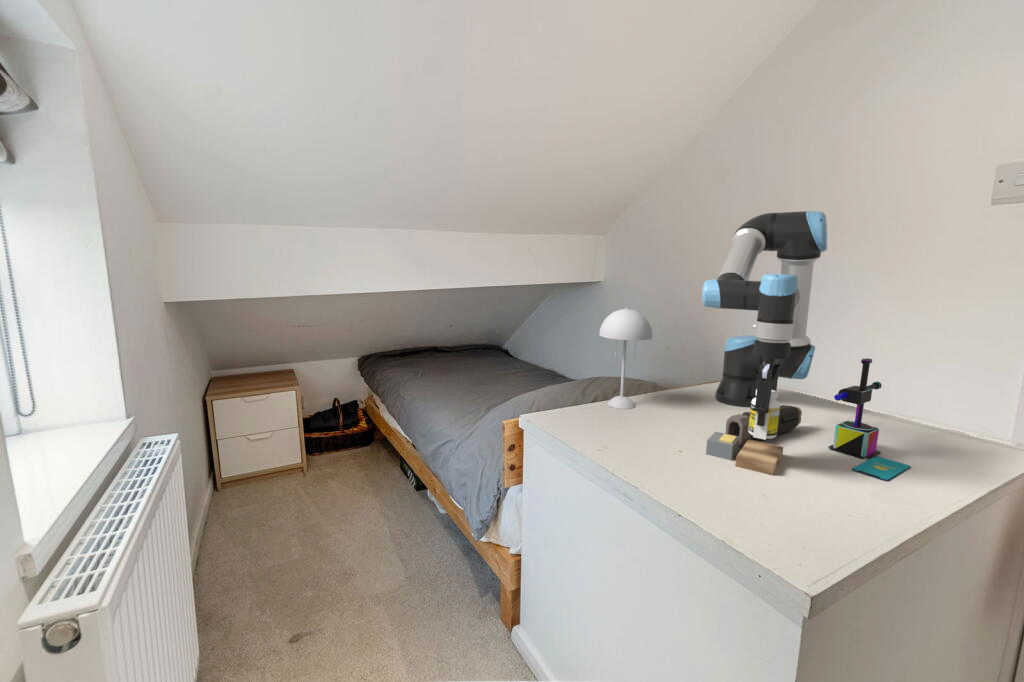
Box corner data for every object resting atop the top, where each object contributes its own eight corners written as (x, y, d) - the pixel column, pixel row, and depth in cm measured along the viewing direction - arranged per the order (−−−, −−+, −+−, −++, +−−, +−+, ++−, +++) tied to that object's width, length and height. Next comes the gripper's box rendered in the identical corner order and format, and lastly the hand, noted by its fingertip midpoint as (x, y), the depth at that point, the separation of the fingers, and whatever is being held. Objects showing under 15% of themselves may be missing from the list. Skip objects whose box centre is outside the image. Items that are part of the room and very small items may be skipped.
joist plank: (747, 448, 125) (748, 439, 124) (782, 456, 120) (783, 446, 120) (735, 465, 114) (736, 456, 113) (773, 475, 109) (774, 464, 108)
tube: (808, 443, 137) (746, 449, 122) (784, 441, 143) (722, 447, 128) (806, 405, 139) (744, 406, 123) (782, 404, 144) (720, 406, 129)
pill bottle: (742, 432, 117) (746, 388, 116) (760, 429, 120) (765, 386, 118) (763, 440, 112) (768, 395, 110) (782, 437, 114) (787, 393, 112)
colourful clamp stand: (861, 463, 117) (875, 365, 113) (821, 450, 124) (833, 359, 120) (900, 443, 130) (914, 356, 126) (862, 433, 138) (874, 350, 134)
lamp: (588, 398, 168) (593, 305, 163) (634, 397, 171) (639, 305, 166) (607, 413, 151) (612, 310, 146) (656, 411, 155) (663, 310, 149)
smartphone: (912, 465, 115) (887, 479, 107) (911, 468, 115) (887, 483, 107) (876, 455, 121) (850, 468, 113) (876, 458, 121) (850, 471, 113)
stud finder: (714, 445, 127) (715, 430, 126) (738, 451, 123) (740, 435, 123) (705, 455, 120) (707, 438, 120) (731, 461, 117) (732, 444, 116)
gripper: (762, 334, 122) (753, 421, 125) (746, 343, 107) (736, 441, 110) (796, 337, 117) (785, 427, 121) (784, 347, 102) (773, 449, 106)
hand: (762, 433), depth 116 cm, fingers closed on pill bottle, 6 cm apart
